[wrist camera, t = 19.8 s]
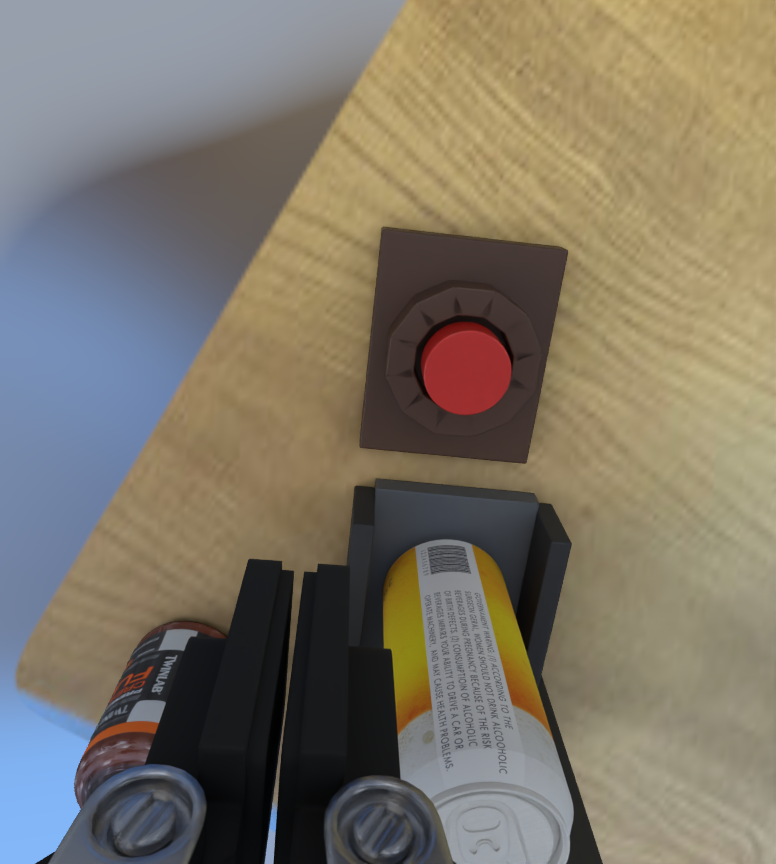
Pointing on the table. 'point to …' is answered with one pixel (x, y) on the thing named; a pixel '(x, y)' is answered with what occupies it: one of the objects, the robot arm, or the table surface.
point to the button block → (449, 303)
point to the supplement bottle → (136, 706)
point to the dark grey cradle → (500, 538)
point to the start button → (465, 368)
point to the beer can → (472, 709)
